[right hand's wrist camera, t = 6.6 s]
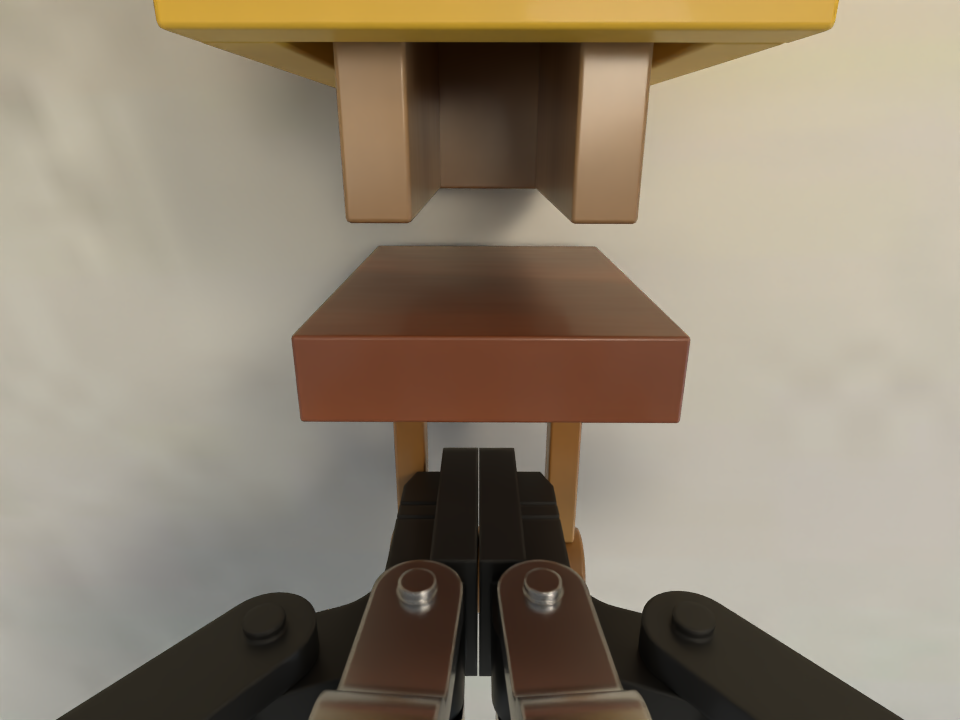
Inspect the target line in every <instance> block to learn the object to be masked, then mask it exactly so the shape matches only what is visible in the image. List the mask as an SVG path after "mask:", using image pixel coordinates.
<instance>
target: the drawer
mask: <svg viewBox="0 0 960 720" xmlns="http://www.w3.org/2000/svg"><path fill="white" fill-rule="evenodd" d="M653 45H654V42H333V53H334V66H335V80H336V93H337V107H338V120H339V133H340V147H341V160H342V174H343V187H344V201H345V214H346V219H347V221H348V222H350V223H409V222H411V221H412V220H413V219H414V217H415V216H416V215H417V214H418V213H419V212H420V210H421V209H422V208H423V207H424V206H425V205H426V204H427V202H428V201H429V200H430V199H431V198H432V197H433V195H434V194H435V193H436V192H437V191H438V190H439V188H480V189H537V190H538V191H539V192H540V193H541V194H543V195H544V196H545V197H546V198H547V199H548V200H549V201H550V202H551V203H552V204H553V205H554V206H555V207H556V208H557V209H558V210H559V211H560V212H562V213H563V214H564V215H565V216H566V217H567V218H568V219H569V220H570V221H571V222H572V223H575V224H633V223H636V221H637V219H638V208H639V197H640V186H641V175H642V165H643V154H644V143H645V132H646V121H647V110H648V99H649V88H650V78H651V67H652V56H653ZM291 339H292V348H293V356H294V365H295V374H296V383H297V392H298V401H299V410H300V418H301V420H302V421H304V422H393V426H394V445H395V463H396V482H397V501H398V510H399V506H400V501H401V496H402V492H403V487H404V485H405V484H406V483H407V482H408V481H409V480H410V479H411V478H412V477H413V476H414V475H415V473H416V472H429V468H428V436H427V422H547V440H546V462H545V478H546V479H547V480H548V481H549V482H550V483H551V484H552V485H553V487H554V492H555V496H556V501H557V506H558V511H559V515H560V520H561V525H562V530H563V534H564V539H565V544H566V549H567V553H568V558H569V563H570V568H571V569H573V570H574V571H575V572H577V573H578V574H579V575H580V576H581V577H582V579H583V580H584V581H585V559H584V550H583V544H582V539H581V535H580V532H579V530H578V528H576V527H575V516H576V501H577V486H578V471H579V457H580V442H581V427H582V423H678V422H679V421H680V415H681V407H682V400H683V392H684V384H685V377H686V369H687V361H688V354H689V346H690V337H689V336H688V335H687V334H686V333H685V332H684V331H683V330H682V329H681V328H680V327H679V326H677V325H676V324H675V323H674V322H673V321H672V320H671V319H670V318H669V317H668V316H667V315H666V314H665V313H664V312H663V311H662V310H661V309H660V308H659V307H658V306H657V305H656V304H655V303H654V302H653V301H652V300H651V299H649V298H648V297H647V296H646V295H645V294H644V293H643V292H642V291H641V290H640V289H639V288H638V287H637V286H636V285H635V284H634V283H633V282H632V281H631V280H630V279H629V278H628V277H627V276H626V275H625V274H624V273H623V272H621V271H620V270H619V269H618V268H617V267H616V266H615V265H614V264H613V263H612V262H611V261H610V260H609V259H608V258H607V257H606V256H605V255H604V254H603V253H602V252H601V251H600V250H599V249H598V248H597V247H580V246H378V247H377V248H376V249H375V250H374V251H373V253H372V254H371V255H370V256H369V257H368V258H367V259H366V260H365V261H364V262H363V263H362V264H361V265H360V266H359V267H358V268H357V269H356V270H355V271H354V272H353V273H352V274H351V275H350V276H349V277H348V278H347V279H346V281H345V282H344V283H343V284H342V285H341V286H340V287H339V288H338V289H337V290H336V291H335V292H334V293H333V294H332V295H331V296H330V297H329V298H328V299H327V300H326V301H325V302H324V303H323V304H322V305H321V306H320V308H319V309H318V310H317V311H316V312H315V313H314V314H313V315H312V316H311V317H310V318H309V319H308V320H307V321H306V322H305V323H304V324H303V325H302V326H301V327H300V328H299V329H298V330H297V331H296V332H295V333H294V334H293V336H292V338H291ZM393 533H394V531H393ZM392 537H393V534H392ZM391 542H392V538H391ZM390 546H391V544H390ZM585 582H586V581H585ZM478 613H479V526H478Z"/></svg>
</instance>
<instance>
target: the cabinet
mask: <svg viewBox="0 0 960 720" xmlns="http://www.w3.org/2000/svg"><path fill="white" fill-rule="evenodd" d="M153 2H154V8H155V14H156V20H157V23H158V25H159V27H160V28H162V29H165V30H167V31H170V32H173V33H176V34H179V35H182V36H185V37H188V38H191V39H194V40H197V41H200V42H202V43H205V44H208V45H211V46H213V47H216V48H219V49H222V50H225V51H228V52H231V53H234V54H237V55H240V56H243V57H246V58H249V59H252V60H255V61H258V62H261V63H264V64H266V65H269V66H272V67H275V68H278V69H281V70H284V71H287V72H290V73H293V74H296V75H299V76H302V77H305V78H308V79H311V80H314V81H317V82H320V83H322V84H325V85H328V86H331V87H334V88H336V80H335V66H334V53H333V42H654V45H653V56H652V67H651V78H650V85H653V84H657V83H660V82H663V81H666V80H669V79H673V78H676V77H679V76H682V75H685V74H688V73H692V72H695V71H698V70H701V69H704V68H708V67H711V66H714V65H717V64H720V63H724V62H727V61H730V60H733V59H736V58H739V57H743V56H746V55H749V54H752V53H755V52H759V51H762V50H765V49H768V48H771V47H775V46H778V45H781V44H783V43H789V42H792V41H795V40H798V39H802V38H805V37H808V36H811V35H814V34H818V33H821V32H824V31H827V30H829V29H831V28H832V27H833V25H834V23H835V19H836V13H837V8H838V2H839V0H153Z"/></svg>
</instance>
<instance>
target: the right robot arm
mask: <svg viewBox="0 0 960 720" xmlns="http://www.w3.org/2000/svg"><path fill="white" fill-rule="evenodd" d="M477 623H478V448H443V453H442V462H441V470H440V472H416V473H415V475H414V476H413V477H412V478H411V479H410V480H409V481H408V482H407V483H406V484H405V485H404V487H403V492H402V496H401V501H400V506H399V510H398V515H397V519H396V524H395V528H394V533H393V537H392V542H391V546H390V551H389V556H388V560H387V565H386V569H385V572H383V573H382V574H381V575H380V576H379V578H378V579H377V580H376V582H375V584H374V586H373V588H372V591H371V592H369V593H368V594H367V595H365V596H364V597H362V598H360V599H358V600H357V601H354V602H352V603H349V604H347V605H343V606H340V607H336V608H332V609H328V610H324V611H320V612H316V613H315V611H314V608H313V606H312V605H311V603H310V602H308V601H307V600H306V599H305V598H303V597H301V596H299V595H296V594H292V593H283V592H277V593H268V594H263V595H260V596H257V597H254V598H251V599H249V600H247V601H245V602H243V603H241V604H239V605H237V606H236V607H234V608H233V609H231V610H230V611H228V612H226V613H225V614H223V615H222V616H220V617H218V618H217V619H215V620H214V621H212V622H210V623H209V624H207V625H206V626H204V627H203V628H201V629H199V630H198V631H196V632H195V633H193V634H191V635H190V636H188V637H187V638H185V639H183V640H182V641H180V642H179V643H177V644H176V645H174V646H172V647H171V648H169V649H168V650H166V651H164V652H163V653H161V654H160V655H158V656H156V657H155V658H153V659H152V660H150V661H149V662H147V663H145V664H144V665H142V666H141V667H139V668H137V669H136V670H134V671H133V672H131V673H129V674H128V675H126V676H125V677H123V678H122V679H120V680H118V681H117V682H115V683H114V684H112V685H110V686H109V687H107V688H106V689H104V690H103V691H101V692H99V693H98V694H96V695H95V696H93V697H91V698H90V699H88V700H87V701H85V702H83V703H82V704H80V705H79V706H77V707H76V708H74V709H72V710H71V711H69V712H68V713H66V714H64V715H63V716H61V717H60V718H58V719H56V720H464V688H465V676H477ZM479 676H491V682H492V702H493V706H494V709H495V711H496V720H904V719H902V718H900V717H899V716H897V715H896V714H894V713H893V712H891V711H889V710H888V709H886V708H885V707H883V706H881V705H880V704H878V703H877V702H875V701H873V700H872V699H870V698H869V697H867V696H866V695H864V694H862V693H861V692H859V691H858V690H856V689H854V688H853V687H851V686H850V685H848V684H846V683H845V682H843V681H842V680H840V679H839V678H837V677H835V676H834V675H832V674H831V673H829V672H827V671H826V670H824V669H823V668H821V667H819V666H818V665H816V664H815V663H813V662H812V661H810V660H808V659H807V658H805V657H804V656H802V655H800V654H799V653H797V652H796V651H794V650H793V649H791V648H789V647H788V646H786V645H785V644H783V643H781V642H780V641H778V640H777V639H775V638H773V637H772V636H770V635H769V634H767V633H766V632H764V631H762V630H761V629H759V628H758V627H756V626H754V625H753V624H751V623H750V622H748V621H746V620H745V619H743V618H742V617H740V616H739V615H737V614H735V613H734V612H732V611H731V610H729V609H727V608H726V607H724V606H723V605H721V604H719V603H718V602H716V601H714V600H712V599H710V598H708V597H705V596H703V595H699V594H696V593H692V592H686V591H670V592H664V593H661V594H658V595H656V596H654V597H653V598H651V599H650V600H649V601H648V602H647V603H646V605H645V606H644V609H643V612H642V613H639V612H635V611H631V610H627V609H623V608H619V607H615V606H612V605H608V604H606V603H604V602H601V601H599V600H597V599H595V598H594V597H592V596H591V595H590V593H589V590H588V587H587V585H586V583H585V581H584V580H583V579H582V577H581V576H580V575H579V574H578V573H577V572H575V571H574V570H573V569H571V568H570V563H569V558H568V553H567V549H566V544H565V539H564V534H563V530H562V525H561V520H560V515H559V511H558V506H557V501H556V496H555V492H554V487H553V485H552V484H551V483H550V482H549V481H548V480H547V479H546V478H545V477H544V475H543V474H542V473H541V472H517V470H516V461H515V451H514V448H479Z"/></svg>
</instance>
